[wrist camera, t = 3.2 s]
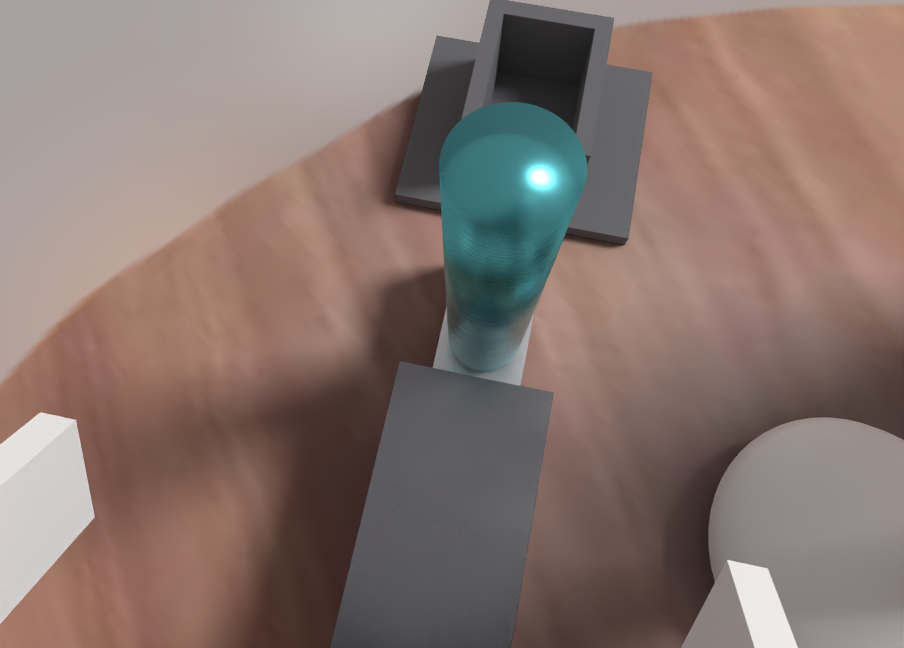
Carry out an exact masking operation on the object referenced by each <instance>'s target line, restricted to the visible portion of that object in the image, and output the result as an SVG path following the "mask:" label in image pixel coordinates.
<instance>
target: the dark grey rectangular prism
mask: <svg viewBox="0 0 904 648" xmlns="http://www.w3.org/2000/svg"><path fill="white" fill-rule="evenodd" d="M553 394H554V393H552V392H547V391H542V390H538V389H533V388H528V387H523V386H518V385H514V384H509V383H504V382H499V381H494V380H489V379H485V378H480V377H475V376H470V375H465V374H461V373H456V372H451V371H446V370H441V369H436V368H432V367H427V366H422V365H417V364H412V363H408V362H403V361H400V362H399V366H398V370H397V374H396V378H395V382H394V386H393V390H392V395H391V399H390V403H389V407H388V411H387V415H386V419H385V423H384V428H383V432H382V436H381V440H380V444H379V448H378V452H377V456H376V461H375V465H374V469H373V473H372V477H371V481H370V485H369V489H368V494H367V498H366V502H365V506H364V510H363V514H362V518H361V523H360V527H359V531H358V535H357V539H356V543H355V547H354V551H353V556H352V560H351V564H350V568H349V572H348V576H347V580H346V584H345V589H344V593H343V597H342V601H341V605H340V609H339V613H338V617H337V622H336V626H335V630H334V634H333V638H332V642H331V646H330V648H511V643H512V637H513V631H514V626H515V620H516V614H517V608H518V602H519V596H520V590H521V584H522V578H523V572H524V566H525V560H526V554H527V548H528V542H529V536H530V530H531V525H532V519H533V513H534V507H535V501H536V495H537V489H538V483H539V477H540V471H541V465H542V459H543V453H544V447H545V441H546V435H547V430H548V424H549V418H550V412H551V406H552V400H553Z"/></svg>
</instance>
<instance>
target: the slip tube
mask: <svg viewBox="0 0 904 648" xmlns="http://www.w3.org/2000/svg"><path fill="white" fill-rule="evenodd" d="M439 176H440V194H441V213H442V231H443V250H444V268H445V287H446V305H447V306H446V311H445V315H444V320H443V324H442V328H441V333H440V337H439V342H438V346H437V351H436V355H435V359H434V364H433V368H436V369H441V370H446V371H451V372H456V373H461V374H465V375H470V376H475V377H480V378H485V379H489V380H494V381H499V382H504V383H509V384H514V385H518V386H521V380H522V375H523V369H524V364H525V359H526V353H527V348H528V342H529V337H530V331H531V326H532V321H533V315H534V311H535V308H536V306H537V303H538V301H539V298H540V296H541V293H542V291H543V288H544V286H545V283H546V281H547V278H548V276H549V273H550V271H551V268H552V266H553V264H554V261H555V259H556V256H557V254H558V251H559V249H560V246H561V244H562V241H563V239H564V236H565V234H566V231H567V229H568V226H569V224H570V221H571V219H572V216H573V214H574V211H575V209H576V206H577V204H578V202H579V199H580V197H581V194H582V192H583V189H584V186H585V182H586V177H587V161H586V156H585V152H584V149H583V146H582V144H581V142H580V140H579V138H578V137H577V135H576V134H575V132H574V131H573V130H572V129H571V128H570V126H569V125H568V124H567V123H566V122H564V121H563V120H562V119H561V118H560V117H558V116H557V115H555V114H554V113H552V112H550V111H548V110H546V109H544V108H541V107H538V106H536V105H532V104H527V103H520V102H503V103H496V104H491V105H488V106H485V107H482V108H479V109H477V110H475V111H473V112H471V113H470V114H468V115H467V116H465V117H464V118H463V119H462V120H460V121H459V122H458V123H457V124H456V125H455V126H454V128H453V129H452V130H451V131H450V133H449V134H448V136H447V138H446V140H445V142H444V144H443V147H442V150H441V154H440V159H439Z"/></svg>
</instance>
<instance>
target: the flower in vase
mask: <svg viewBox="0 0 904 648" xmlns="http://www.w3.org/2000/svg"><path fill="white" fill-rule="evenodd" d="M708 542H709V555H710V562H711V569H712V573H713V576H714V580H715V582H716V580H717V578H718V576H719V574H720V572H721V571H722V569H723V567H724V565H725V563H726V561H727V560H731V561H735V562H740V563H745V564H749V565H754V566H759V567H763V568H768V570H769V573H770V576H771V578H772V581H773V583H774V586H775V589H776V591H777V594H778V597H779V599H780V602H781V605H782V607H783V610H784V612H785V615H786V618H787V620H788V623H789V626H790V628H791V631H792V634H793V636H794V639H795V641H796V644H797V647H798V648H904V440H903V439H901V438H899V437H897V436H894V435H892V434H890V433H888V432H886V431H883V430H881V429H878V428H875V427H872V426H869V425H867V424H864V423H860V422H856V421H852V420H847V419H840V418H830V417H820V418H806V419H800V420H794V421H791V422H788V423H785V424H782V425H779V426H777V427H775V428H773V429H770V430H768V431H766V432H764V433H763V434H761V435H760V436H759V437H757V438H756V439H754V440H753V441H751V442H750V443H749V444H748V445H747V446H746V447H745V448H744V449H743V450H742V451H740V452H739V454H738V455H737V456H736V457H735V459H734V460H733V461H732V462H731V464H730V465H729V467H728V468H727V470H726V472H725V473H724V475H723V477H722V479H721V481H720V483H719V486H718V488H717V491H716V493H715V496H714V500H713V504H712V508H711V512H710V520H709V528H708Z"/></svg>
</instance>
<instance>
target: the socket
mask: <svg viewBox="0 0 904 648" xmlns="http://www.w3.org/2000/svg"><path fill="white" fill-rule="evenodd" d="M613 22H614V18H611V17H604V16H598V15H592V14H586V13H580V12H574V11H568V10H562V9H556V8H550V7H544V6H538V5H532V4H526V3H519V2H513V1H508V0H490V3H489V7H488V11H487V15H486V19H485V23H484V27H483V31H482V36H481V40H480V43H477V42H471V41H464V40H459V39H453V38H447V37H441V36H437V37H436V41H435V45H434V48H433V52H432V56H431V60H430V63H429V67H428V71H427V75H426V79H425V82H424V86H423V90H422V94H421V97H420V101H419V105H418V109H417V112H416V116H415V120H414V124H413V127H412V131H411V135H410V139H409V143H408V146H407V150H406V154H405V158H404V161H403V165H402V169H401V173H400V177H399V180H398V184H397V188H396V192H395V198H396V202H401V203H406V204H412V205H417V206H422V207H428V208H433V209H438V210H441V194H440V176H439V159H440V154H441V150H442V147H443V144H444V142H445V140H446V138H447V136H448V134H449V133H450V131H451V130H452V129H453V128H454V126H455V125H456V124H457V123H458V122H459V121H460V120H462V119H463V118H464V117H465V116H467V115H468V114H470V113H471V112H473V111H475V110H477V109H479V108H482V107H485V106H488V105H491V104H496V103H503V102H520V103H527V104H532V105H536V106H538V107H541V108H544V109H546V110H548V111H550V112H552V113H554V114H555V115H557V116H558V117H560V118H561V119H562V120H563V121H564V122H566V123H567V124H568V125H569V126H570V128H571V129H572V130H573V131H574V132H575V134H576V135H577V137H578V138H579V140H580V142H581V144H582V146H583V149H584V152H585V156H586V161H587V177H586V182H585V186H584V189H583V192H582V194H581V197H580V199H579V202H578V204H577V206H576V209H575V211H574V214H573V216H572V219H571V221H570V224H569V226H568V229H567V231H566V234H570V235H575V236H580V237H585V238H591V239H596V240H601V241H606V242H612V243H617V244H622V245H625V243H626V241H627V240H628V238H629V231H630V224H631V217H632V210H633V203H634V196H635V190H636V183H637V176H638V169H639V162H640V155H641V148H642V141H643V134H644V127H645V120H646V113H647V106H648V100H649V93H650V86H651V79H652V72H646V71H641V70H635V69H629V68H623V67H617V66H611V65H606V63H607V58H608V52H609V46H610V40H611V34H612V28H613Z"/></svg>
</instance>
